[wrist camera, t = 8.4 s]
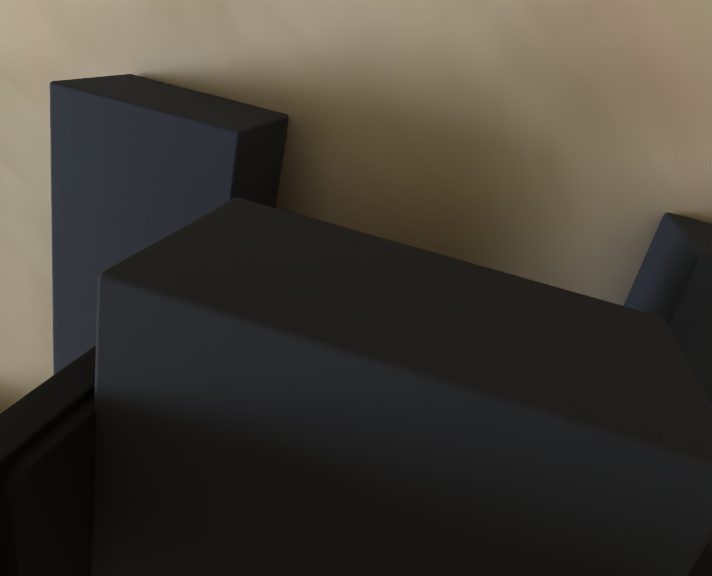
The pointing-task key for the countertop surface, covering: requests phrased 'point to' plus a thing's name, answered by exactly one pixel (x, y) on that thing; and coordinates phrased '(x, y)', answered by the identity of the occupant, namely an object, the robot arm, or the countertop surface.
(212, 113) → the notched tile
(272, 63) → the countertop surface
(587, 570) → the black pad
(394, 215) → the countertop surface
